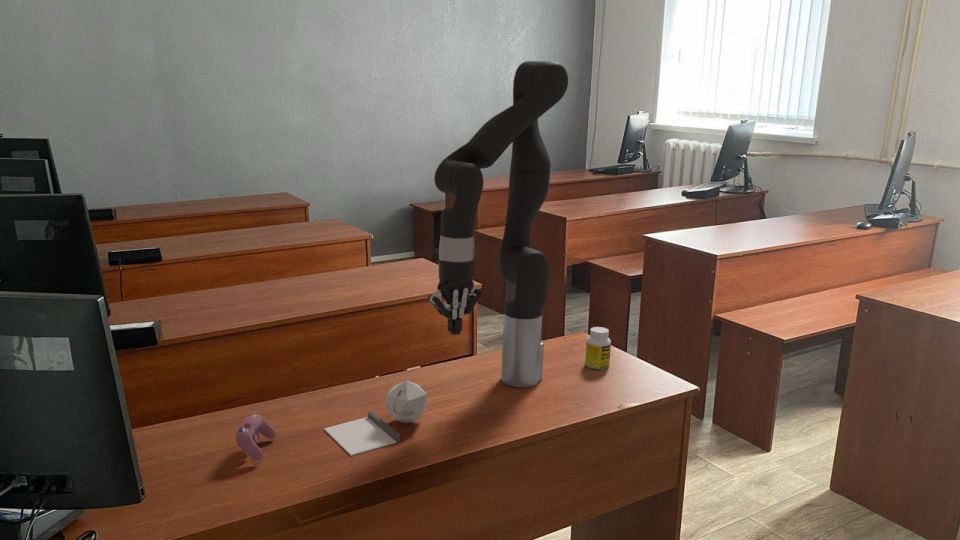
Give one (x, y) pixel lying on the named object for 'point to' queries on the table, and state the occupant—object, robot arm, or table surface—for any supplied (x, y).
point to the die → (406, 402)
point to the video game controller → (253, 435)
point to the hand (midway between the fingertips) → (454, 333)
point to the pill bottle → (598, 349)
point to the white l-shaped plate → (363, 434)
